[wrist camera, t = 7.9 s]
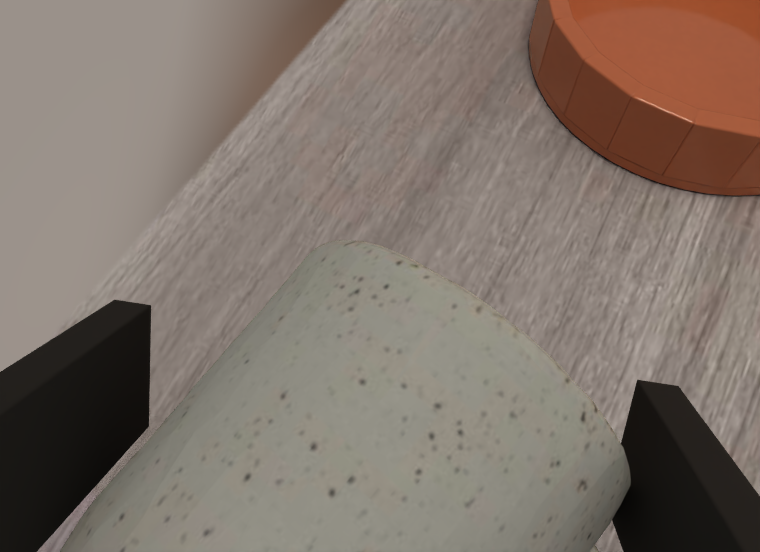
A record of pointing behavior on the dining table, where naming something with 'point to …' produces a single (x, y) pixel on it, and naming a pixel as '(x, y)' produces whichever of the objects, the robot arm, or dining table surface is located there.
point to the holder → (657, 86)
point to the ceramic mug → (370, 431)
